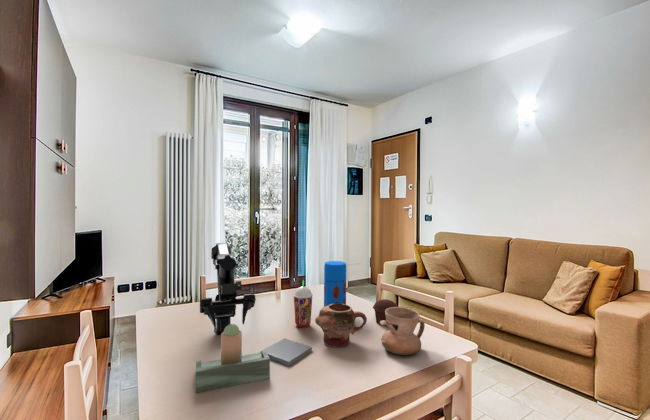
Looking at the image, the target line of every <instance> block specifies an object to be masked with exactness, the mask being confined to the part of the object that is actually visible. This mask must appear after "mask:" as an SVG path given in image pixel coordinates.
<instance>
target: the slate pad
mask: <svg viewBox="0 0 650 420" xmlns="http://www.w3.org/2000/svg"><path fill="white" fill-rule="evenodd" d="M263 350H266V352H267V354H268V356H269V358H270V361H274V362H277V363H279V364H282V365H285V366H287V367H290V366H291V365H293V364H295V363H296V362H297V361H299V360H300V359H302V358H303V357H305V356H306V355H307V354H309V353H311V352H313V347H312V345H311V346H310V345H307V344H303V343H301V342H297V341H294V340H291V339H288V338H285V337H284V338H283V339H280V340H278V341H277V342H274V343H273V344H271V345H270V346H267V347H265V348H264V349H263ZM261 351H262V350H261ZM261 351H260V352H259V353H261Z"/></svg>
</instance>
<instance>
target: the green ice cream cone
mask: <svg viewBox="0 0 650 420" xmlns="http://www.w3.org/2000/svg"><path fill="white" fill-rule="evenodd" d="M242 338H243V333H242V331H241V330H240V328H239V326H238V325H237V324H235V323H231V324H229V325H227V326H226V327H225V329H224V332H222V333H221V334H220V359H221V365H225V364H231V363H236V362H242V356H243V353H242V352H243V351H242V349H243V340H242Z"/></svg>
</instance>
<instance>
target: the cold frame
mask: <svg viewBox="0 0 650 420" xmlns="http://www.w3.org/2000/svg"><path fill="white" fill-rule="evenodd" d="M270 372H271V359H270V358H269V356H268V354H267V352H266V350H264V349H262V350H261V353H260V352H257V353H252V354H251V353H250V354H244V355H242V362H236V363H231V364H225V365H221V358H219V359H214V360H208V361H203V362H202V360H197V361H196V362H195V394H197V393H203V392H208V391H212V390H218V389H223V388H229V387H233V386H237V385H242V384H247V383H252V382H253V383H254V382H257V381H262V380H267V379H270V378H271V377H270V376H271V373H270Z"/></svg>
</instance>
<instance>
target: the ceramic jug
mask: <svg viewBox="0 0 650 420" xmlns="http://www.w3.org/2000/svg"><path fill="white" fill-rule="evenodd" d="M385 316H386V321H385V320H383V321H380V324H381V325H380V324H379V325H380V326H384V325H387V326H386V327H388V329H389V330H387V331H385V332H384V333H382V336H381V338H380V341H381V344H382V347H383V348H384V349H386V350H387V351H388V352H390V353H392V354H394V355H400V356H411V355H414V354H416V353H418V352H420V350H421V349H422V342H421V337H422V336H423V333H424V331H425V321H424V320H423V319H422V318H420V313H419V312H418V311H417V310H416V309H413V308H408V307H403V306H398V307H391V308H388V309H386V310H385ZM418 324H419V329H418V332H417V334H415V333H414V331H415V330H416V328H417V325H418Z"/></svg>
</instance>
